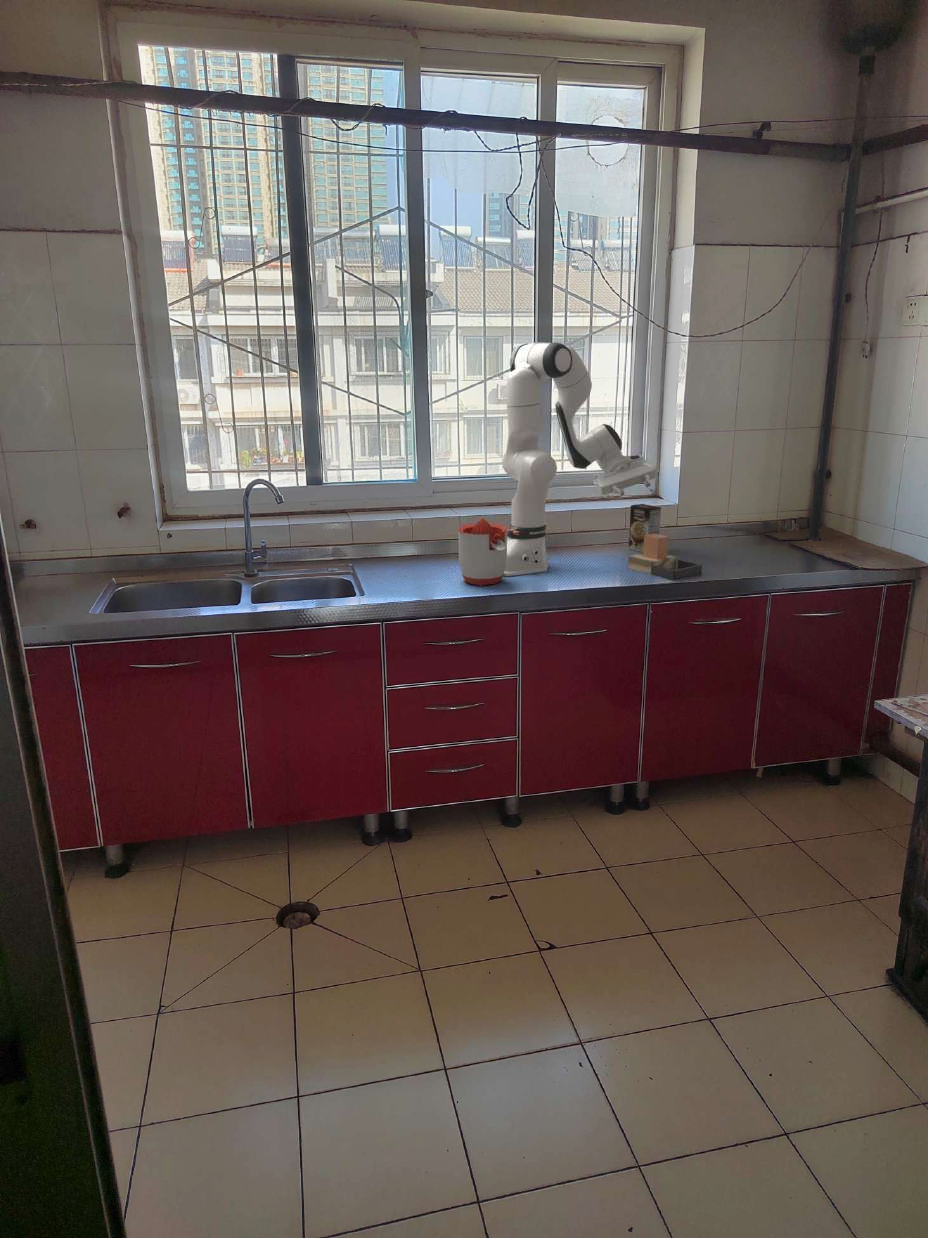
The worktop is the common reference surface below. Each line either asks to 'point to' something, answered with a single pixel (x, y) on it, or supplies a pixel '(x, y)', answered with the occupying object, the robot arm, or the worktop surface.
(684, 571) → the tray
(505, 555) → the citrus juicer
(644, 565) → the tan flat box
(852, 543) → the worktop surface
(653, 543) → the tile block
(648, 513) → the coffee box
